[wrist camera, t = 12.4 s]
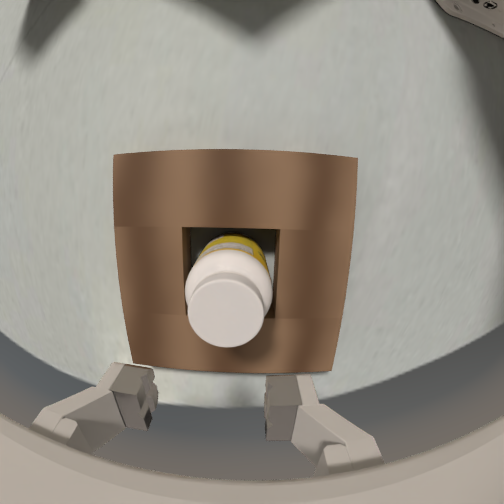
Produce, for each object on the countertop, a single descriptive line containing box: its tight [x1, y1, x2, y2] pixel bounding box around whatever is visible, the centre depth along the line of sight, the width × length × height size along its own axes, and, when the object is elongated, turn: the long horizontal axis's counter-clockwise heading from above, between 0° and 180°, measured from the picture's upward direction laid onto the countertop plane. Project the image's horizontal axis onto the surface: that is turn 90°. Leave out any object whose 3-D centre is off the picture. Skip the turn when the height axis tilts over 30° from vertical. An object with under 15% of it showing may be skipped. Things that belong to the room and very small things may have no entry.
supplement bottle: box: [185, 232, 273, 347], centre depth 19 cm, size 5×5×10 cm
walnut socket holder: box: [113, 149, 358, 373], centre depth 22 cm, size 18×18×3 cm
